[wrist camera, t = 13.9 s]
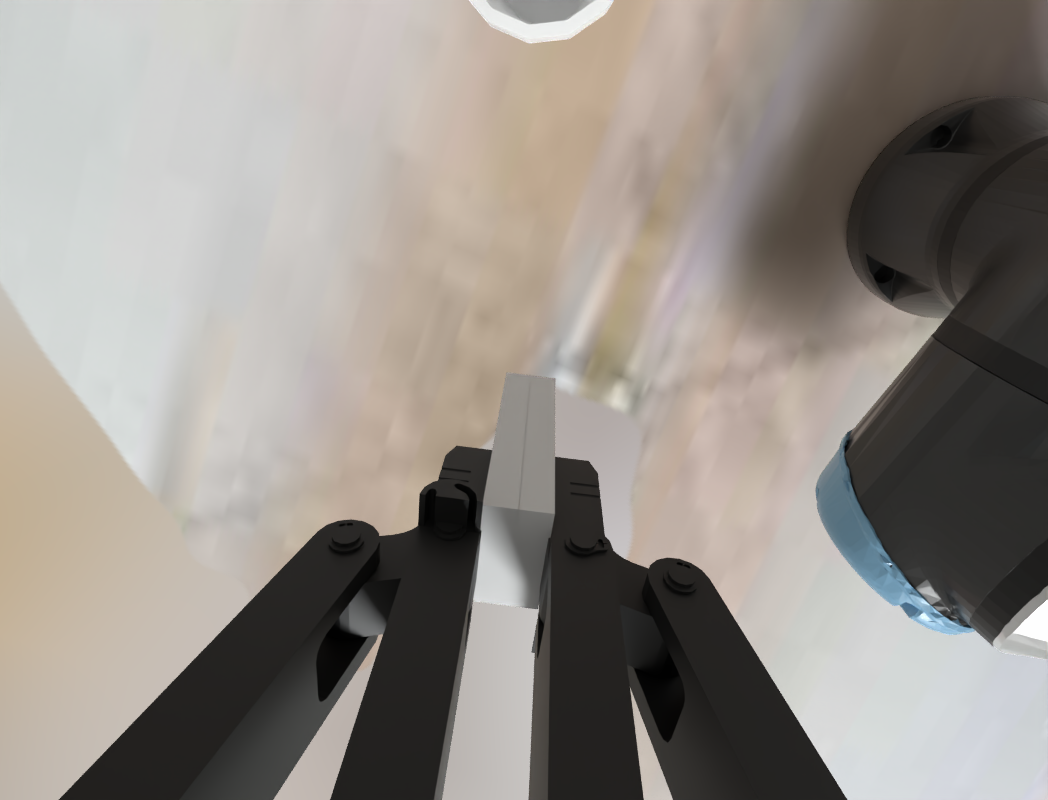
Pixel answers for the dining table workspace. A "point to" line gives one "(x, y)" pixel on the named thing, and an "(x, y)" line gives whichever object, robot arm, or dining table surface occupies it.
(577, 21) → the foam cup
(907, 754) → the dining table surface
